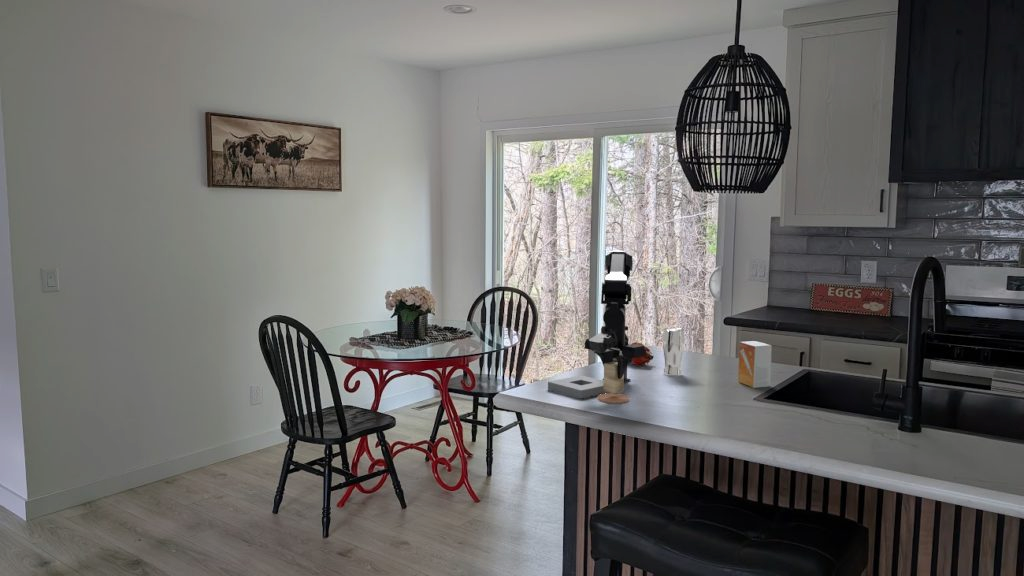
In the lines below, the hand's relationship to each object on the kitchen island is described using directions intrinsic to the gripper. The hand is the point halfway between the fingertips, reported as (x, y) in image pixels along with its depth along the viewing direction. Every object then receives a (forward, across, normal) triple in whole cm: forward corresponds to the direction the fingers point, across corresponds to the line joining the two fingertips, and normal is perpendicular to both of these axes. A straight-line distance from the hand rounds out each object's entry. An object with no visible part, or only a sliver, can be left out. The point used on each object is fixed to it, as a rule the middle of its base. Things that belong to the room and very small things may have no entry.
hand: (613, 377), depth 207 cm
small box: (+7, +15, +48) cm, 51 cm away
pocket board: (+6, -13, 0) cm, 14 cm away
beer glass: (+7, -10, +40) cm, 42 cm away
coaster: (+6, 0, 0) cm, 6 cm away
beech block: (+4, 0, 0) cm, 4 cm away
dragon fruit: (+7, -27, +43) cm, 51 cm away
